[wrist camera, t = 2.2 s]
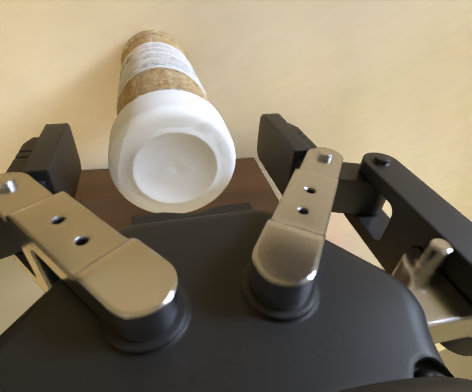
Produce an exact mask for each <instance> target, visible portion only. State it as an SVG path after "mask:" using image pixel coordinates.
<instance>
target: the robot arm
mask: <svg viewBox="0 0 472 392" xmlns="http://www.w3.org/2000/svg"><path fill="white" fill-rule="evenodd" d="M257 153H258V157H259V159H260V161H261V162H262V164H263V166H264V167H265V169H266V170H267V172H268V173H269V175H270V177H271V178H272V180H273V181H274V183H275V185H276V186H277V188H278V189H279V191H280V192H281V194H282V198H281V200H280V202H279V204H278V206H277V208H276V210H275V212H274V213H271V212H268V211H263V210H256V209H253V208H252V206H251V204H250V202H243V203H235V204H227V205H221V206H218V207H215V208H211V209H208V210H205V211H202V212H198V213H193V214H191V213H168V212H161V213H152V214H144V215H136V216H132V225H129V226H126V227H123V228H121V229H119V230H117V231H116V230H115V229H114V228H112V227H111V226H110V225H108V224H107V223H106V222H104V221H103V220H102V219H100V218H99V217H98V216H96V215H95V214H94V213H92V212H91V211H90V210H88V209H87V208H86V207H84V206H83V205H82V204H81V203H79V202H78V201H77V200H75V195H76V191H77V187H78V183H79V179H80V175H81V164H80V159H79V155H78V152H77V148H76V145H75V141H74V138H73V135H72V131H71V128H70V126H69V124H67V123H64V124H46V125H45V127H44V129H43V131H42V133H41V135H40V137H34V138H32V139H30V140H29V141H27V142H26V143H24V144H23V145H22V147H21V149H20V150H19V153H18V154H17V155H16V157H15V158H16V159H14V160H13V162H12V164H11V165H10V167H9V169H8V170H7V172H6V173H3V174H0V259H2V258H5V257H8V256H11V255H13V257H14V258H15V259H16V261H17V262H18V263H19V264H20V265H21V266H22V267H23V268H24V269H25V271H26V272H27V273H28V274H29V275H30V276H31V277H32V278H33V279H34V281H35V282H36V283H37V284H38V285H39V286H40V287H41V289H42V290H43V291H44V293H45V294H44V295H43V296H42V297H41V298H39V299H38V300H37V301H36V302H35V303H34V304H33V305H32V306H31V307H30V308H29V309H28V310H27V311H26V312H25V313H24V314H22V315H21V316H20V317H19V318H18V319H17V320H16V321H15V322H14V323H13V324H12V325H11V326H10V327H9V328H8V329H7V330H5V331H4V332H3V333H2V334H1V335H0V392H472V380H468V379H462V378H454V376H453V375H452V374H451V373H450V372H449V370H448V369H447V367H446V366H445V364H444V362H443V360H442V359H441V357H440V355H439V353H438V351H437V349H436V346H435V344H436V343H440V344H441V345H443V346H444V347H445V348H447V349H448V350H450V351H452V352H454V353H456V354H459V355H463V356H472V222H471V221H470V220H468V219H467V218H466V217H465V216H464V215H462V214H461V213H460V212H459V211H458V210H456V209H455V208H454V207H453V206H452V205H450V204H449V203H448V202H447V201H446V200H444V199H443V198H442V197H441V196H439V195H438V194H437V193H436V192H435V191H433V190H432V189H431V188H430V187H429V186H427V185H426V184H425V183H424V182H423V181H421V180H420V179H419V178H418V177H417V176H415V175H414V174H413V173H412V172H411V171H409V170H408V169H407V168H406V167H405V166H403V165H402V164H401V163H400V162H399V161H397V160H396V159H394V158H393V157H391V156H388V155H385V154H381V153H367V154H365V155H364V156H363V159H362V162H361V164H357V163H346V162H343V157H342V156H341V155H340V154H339V153H338V152H336V151H334V150H331V149H327V148H317V147H316V145H315V144H314V143H313V142H312V141H311V140H310V139H309V138H307V136H306V135H305V134H303V132H302V131H301V130H300V129H299V128H298V127H296V126H294V125H292V124H290V123H287V122H286V121H285V120H284V119H283V118H282V117H281V115H280V114H263V115H262V116H261V118H260V125H259V134H258V143H257ZM385 200H387V201H388V202H389V203H390V204H391V207H392V216H391V219H390V218H389V217H388V216H387V215H386V214H385V212H384V211H383V210H382V207H383V205H384V203H385ZM331 212H337V213H344V214H345V216H346V218H347V219H348V220H349V222H350V223H351V224H352V226H353V227H354V229H355V230H356V231H357V233H358V234H359V235H360V237H361V238H362V239H363V241H364V242H365V244H366V245H367V246H368V248H369V249H370V250H371V252H372V253H373V254H374V256H375V257H376V258H377V260H378V261H379V263H380V264H381V265H382V267H383V268H384V269H385V271H384V270H382V269H380V268H378V267H376V266H374V265H372V264H371V263H369V262H367V261H365V260H363V259H361V258H359V257H357V256H355V255H354V254H352V253H350V252H348V251H346V250H344V249H342V248H340V247H338V246H337V245H335V244H333V243H331V242H329V241H327V240H325V237H326V236H325V235H326V231H327V226H328V222H329V218H330V214H331Z"/></svg>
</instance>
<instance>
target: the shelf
mask: <svg viewBox="0 0 472 392" xmlns="http://www.w3.org/2000/svg"><path fill="white" fill-rule="evenodd" d="M75 200H77V201H78V202H79V203H81V204H82V205H83V206H84V207H86V208H87V209H88V210H90V211H91V212H92V213H94V214H95V215H96V216H98V217H99V218H100V219H102V220H103V221H104V222H106V223H107V224H108V225H110V226H111V227H112V228H114V229H115V230H116V231H117V230H119V229H121V228H123V227H126V226H129V225H132V216H136V215H144V214H152V213H154V212H150V211H147V210H144V209H142V208H140V207H138V206H136V205H134V204H133V203H131V202H130V201H128V200H127V199H126V198H125V197H124V196H123V195H122V194H121V193H120V192H119V190H118V189H117V187H116V186H115V184H114V182H113V180H112V177H111V174H110V171H109V169H100V170H87V171H81V175H80V179H79V183H78V187H77V191H76V195H75ZM243 202H250V204H251V206H252V208H253V209H256V210H263V211H268V212H271V213H274V212H275V210H276V208H277V206H278V204H279V200H278V198H277V197H276V195H275V193H274V191H273V190H272V188H271V186H270V185H269V183H268V181H267V180H266V178H265V176H264V174H263V173H262V171H261V169H260V168H259V166H258V164H257V162H256V161H255V159H254V158H244V159H236V161H235V168H234V172H233V175H232V178H231V180H230V182H229V183H228V185H227V186H226V188H225V189H224V191H223V192H222V193H221V194H220V195H219V196H218V197H217V198H216V199H214V200H213V201H212V202H210V203H208V204H207V205H205V206H203V207H201V208H199V209H196V210H194V211H191V212H187V213H191V214H193V213H198V212H202V211H205V210H208V209H211V208H215V207H218V206H221V205H227V204H235V203H243Z"/></svg>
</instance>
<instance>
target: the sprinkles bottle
mask: <svg viewBox="0 0 472 392" xmlns="http://www.w3.org/2000/svg"><path fill="white" fill-rule="evenodd" d="M235 161H236V155H235V147H234V143H233V140H232V138H231V136H230V133H229V131H228V129H227V127H226V125H225V123H224V121H223V119H222V118H221V116H220V115H219V113H218V112H217V111H216V109H215V108H214V107H213V106H212V105H211V104H210V103H209V102H208V100H207V95H206V93H205V91H204V89H203V87H202V85H201V83H200V81H199V79H198V77H197V75H196V73H195V72H194V70H193V68H192V66H191V64H190V62H189V61H188V58H187V55H186V53H185V51H184V50H183V48H182V47H181V45H180V43H179V42H178V41H177V40H175V39H174V38H172V37H171V36H170V35H168V34H166V33H164V32H160V31H155V30H151V31H144V32H141V33H139V34H137V35H135V36H134V37H132V38H131V39H130V40H129V41H128V43H127V45H126V46H125V48H124V51H123V53H122V57H121V72H120V81H119V89H118V98H117V117H116V119H115V121H114V123H113V126H112V129H111V133H110V140H109V153H108V165H109V171H110V174H111V177H112V180H113V182H114V184H115V186H116V187H117V189H118V190H119V192H120V193H121V194H122V195H123V196H124V197H125V198H126V199H127V200H128V201H130V202H131V203H133V204H134V205H136V206H138V207H140V208H142V209H144V210H147V211H150V212H154V213H161V212H168V213H187V212H191V211H194V210H196V209H199V208H201V207H203V206H205V205H207V204H208V203H210V202H212V201H213V200H214V199H216V198H217V197H218V196H219V195H220V194H221V193H222V192H223V191H224V189H225V188H226V186H227V185H228V183H229V182H230V180H231V178H232V175H233V172H234V168H235Z"/></svg>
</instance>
